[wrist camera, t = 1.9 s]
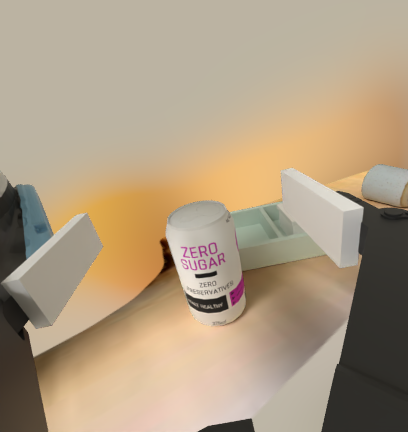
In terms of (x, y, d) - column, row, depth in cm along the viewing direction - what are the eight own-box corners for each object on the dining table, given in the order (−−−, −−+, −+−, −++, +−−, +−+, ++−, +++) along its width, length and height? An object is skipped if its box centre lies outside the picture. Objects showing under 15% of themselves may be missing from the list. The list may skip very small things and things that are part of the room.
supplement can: (226, 276, 38) (209, 193, 31) (259, 309, 31) (245, 211, 24) (182, 300, 35) (154, 214, 28) (206, 341, 28) (176, 241, 21)
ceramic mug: (401, 214, 43) (410, 176, 40) (358, 203, 50) (362, 169, 47) (432, 197, 47) (442, 160, 43) (388, 188, 54) (394, 156, 50)
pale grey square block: (292, 245, 40) (291, 221, 38) (277, 225, 47) (276, 204, 45) (335, 236, 40) (336, 212, 38) (314, 218, 47) (314, 196, 45)
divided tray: (205, 278, 38) (200, 257, 36) (201, 236, 51) (197, 218, 49) (365, 246, 37) (368, 223, 35) (321, 211, 50) (321, 193, 48)
